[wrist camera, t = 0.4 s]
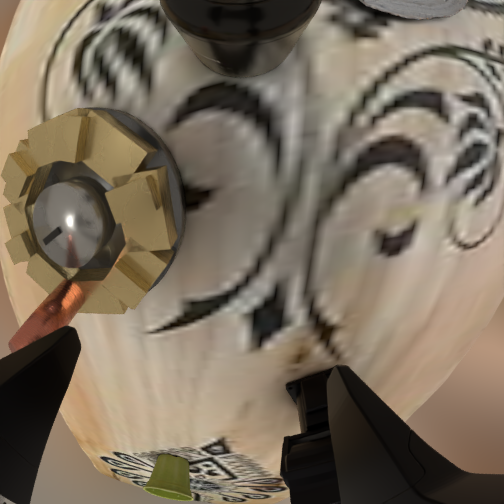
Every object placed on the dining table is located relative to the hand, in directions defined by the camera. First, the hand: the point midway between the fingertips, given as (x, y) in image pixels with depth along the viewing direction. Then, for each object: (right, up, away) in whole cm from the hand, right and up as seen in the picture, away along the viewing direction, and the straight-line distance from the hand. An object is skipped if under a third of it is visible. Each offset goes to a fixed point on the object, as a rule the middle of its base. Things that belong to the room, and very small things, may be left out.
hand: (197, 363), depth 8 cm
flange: (-11, +7, +11) cm, 17 cm away
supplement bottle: (+1, +18, +6) cm, 19 cm away
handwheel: (-11, +6, +9) cm, 16 cm away
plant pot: (-14, -37, +31) cm, 50 cm away
